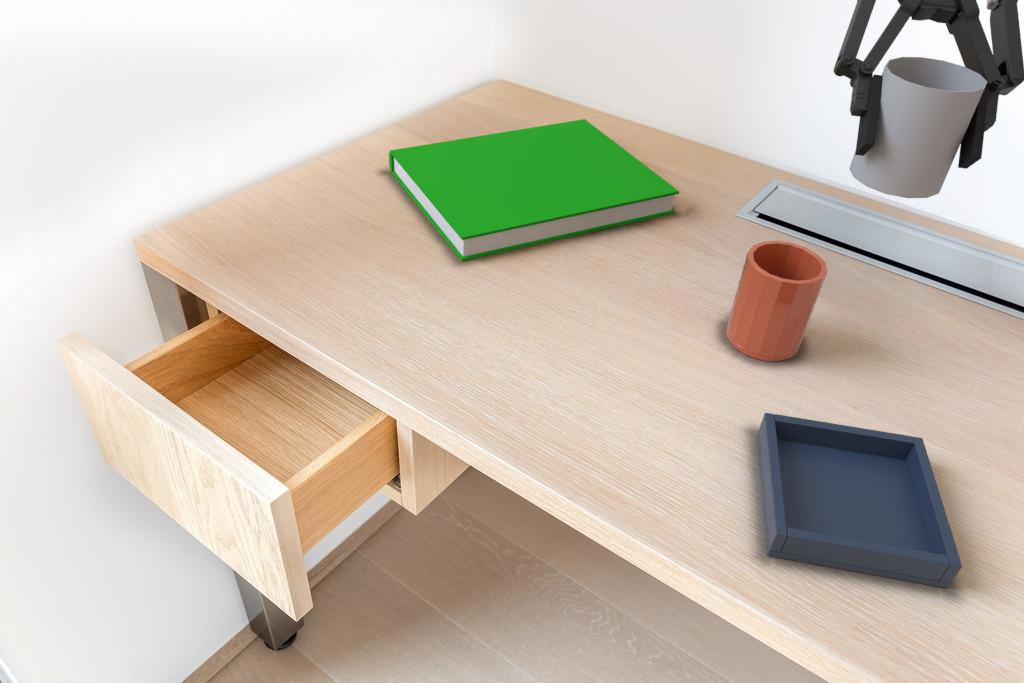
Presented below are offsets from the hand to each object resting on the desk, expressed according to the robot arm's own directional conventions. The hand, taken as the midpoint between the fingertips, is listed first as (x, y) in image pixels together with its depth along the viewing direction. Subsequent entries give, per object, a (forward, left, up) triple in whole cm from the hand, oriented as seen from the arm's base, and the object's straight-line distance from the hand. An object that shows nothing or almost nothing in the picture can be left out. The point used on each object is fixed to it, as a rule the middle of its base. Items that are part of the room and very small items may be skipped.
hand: (916, 156), depth 71 cm
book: (+37, -16, -18) cm, 44 cm away
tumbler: (+10, +7, -17) cm, 21 cm away
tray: (+5, +27, -17) cm, 32 cm away
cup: (0, -3, -4) cm, 5 cm away
